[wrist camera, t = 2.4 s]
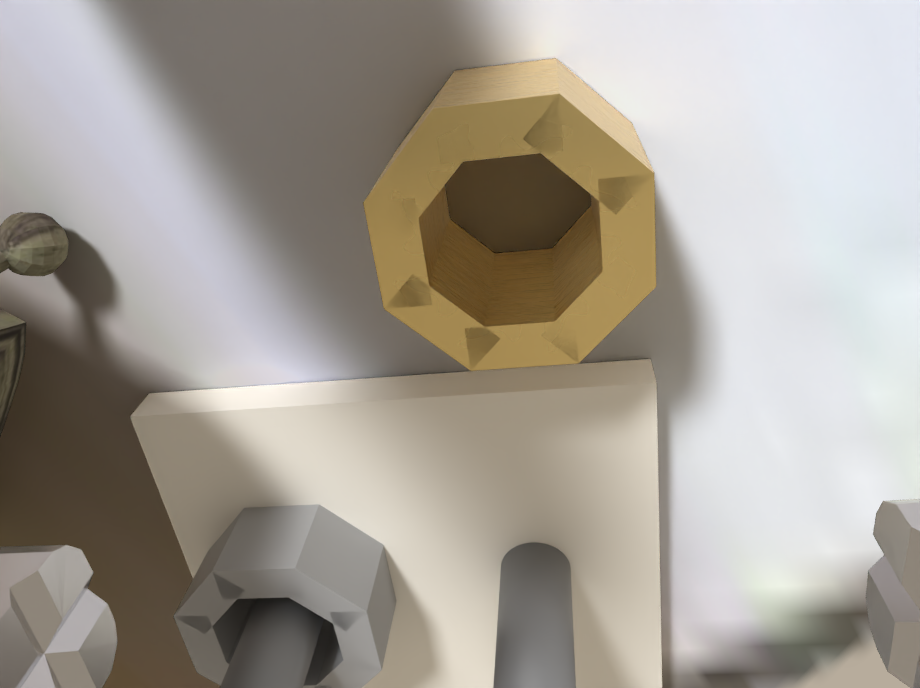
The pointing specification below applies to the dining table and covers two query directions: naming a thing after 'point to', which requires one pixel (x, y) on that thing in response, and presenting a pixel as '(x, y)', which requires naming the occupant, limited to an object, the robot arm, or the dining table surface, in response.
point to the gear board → (418, 528)
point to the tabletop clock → (33, 254)
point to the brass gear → (522, 272)
